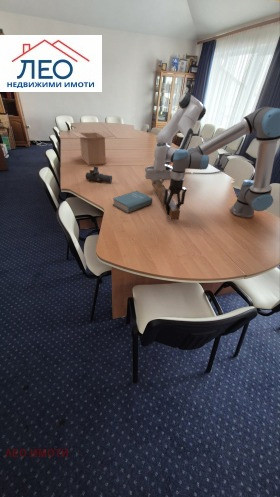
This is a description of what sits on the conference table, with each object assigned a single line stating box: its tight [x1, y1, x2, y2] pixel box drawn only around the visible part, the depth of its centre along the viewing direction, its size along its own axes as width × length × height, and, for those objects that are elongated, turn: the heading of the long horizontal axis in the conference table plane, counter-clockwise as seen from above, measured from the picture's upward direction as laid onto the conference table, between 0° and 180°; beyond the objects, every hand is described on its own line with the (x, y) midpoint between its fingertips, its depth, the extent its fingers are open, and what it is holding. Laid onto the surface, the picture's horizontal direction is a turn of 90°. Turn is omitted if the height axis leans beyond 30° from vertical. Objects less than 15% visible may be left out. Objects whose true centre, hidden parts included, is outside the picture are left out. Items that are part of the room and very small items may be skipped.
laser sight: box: [85, 166, 113, 184], centre depth 187 cm, size 10×22×10 cm, turn 78°
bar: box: [151, 179, 181, 221], centre depth 157 cm, size 56×5×6 cm, turn 10°
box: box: [70, 129, 114, 166], centre depth 229 cm, size 44×36×27 cm
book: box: [112, 190, 153, 214], centre depth 155 cm, size 23×16×5 cm
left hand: (157, 184), depth 174 cm, fingers closed on bar, 5 cm apart
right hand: (171, 214), depth 142 cm, fingers closed on bar, 5 cm apart
